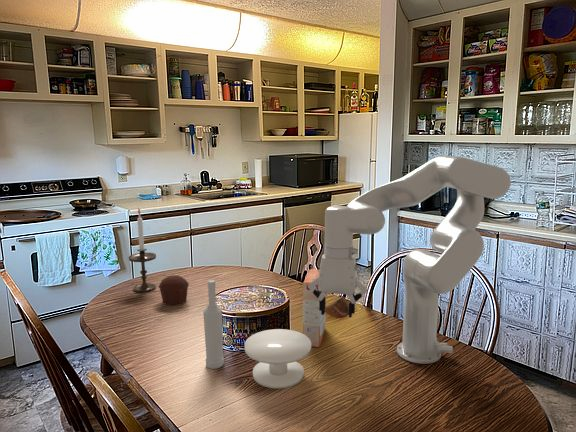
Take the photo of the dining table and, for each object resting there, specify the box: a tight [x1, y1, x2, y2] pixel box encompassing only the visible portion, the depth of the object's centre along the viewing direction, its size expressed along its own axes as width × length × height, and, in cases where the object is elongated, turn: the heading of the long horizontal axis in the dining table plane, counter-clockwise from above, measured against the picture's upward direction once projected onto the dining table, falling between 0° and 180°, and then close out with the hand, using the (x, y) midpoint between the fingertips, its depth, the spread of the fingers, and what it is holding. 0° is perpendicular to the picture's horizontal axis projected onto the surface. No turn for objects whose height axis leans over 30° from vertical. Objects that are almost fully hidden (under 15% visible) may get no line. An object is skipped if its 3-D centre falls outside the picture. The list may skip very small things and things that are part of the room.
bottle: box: [202, 279, 225, 370], centre depth 126 cm, size 5×5×25 cm
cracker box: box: [302, 268, 327, 348], centre depth 142 cm, size 14×6×21 cm, turn 168°
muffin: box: [158, 275, 190, 306], centre depth 175 cm, size 12×11×10 cm
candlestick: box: [128, 207, 157, 294], centre depth 186 cm, size 11×11×35 cm
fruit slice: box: [324, 295, 349, 319], centre depth 123 cm, size 8×7×5 cm
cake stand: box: [244, 328, 312, 390], centre depth 122 cm, size 18×18×9 cm
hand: (336, 313), depth 124 cm, fingers closed on fruit slice, 7 cm apart
